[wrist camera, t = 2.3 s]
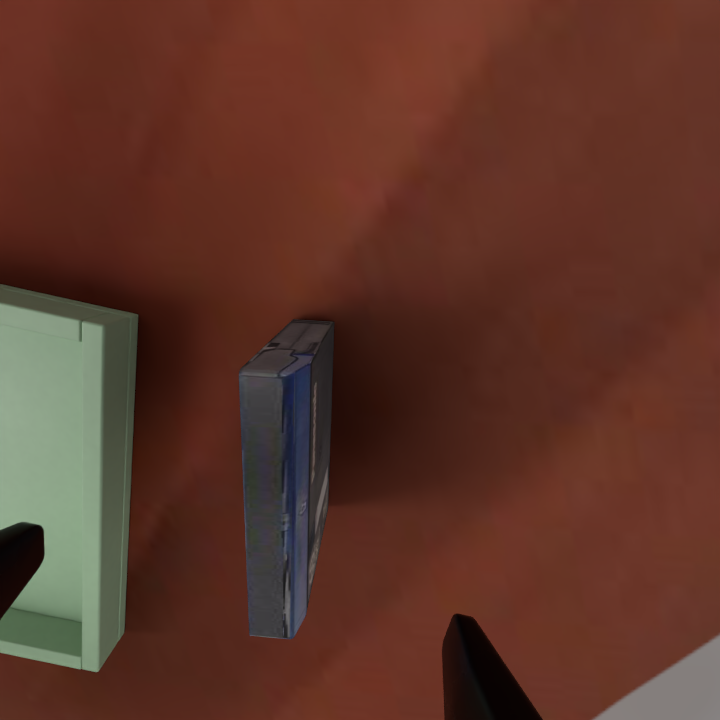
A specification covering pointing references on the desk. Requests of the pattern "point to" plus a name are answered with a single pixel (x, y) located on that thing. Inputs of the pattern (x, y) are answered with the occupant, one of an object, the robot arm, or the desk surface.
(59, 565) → the tray
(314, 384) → the mini dv tape
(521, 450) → the desk surface
